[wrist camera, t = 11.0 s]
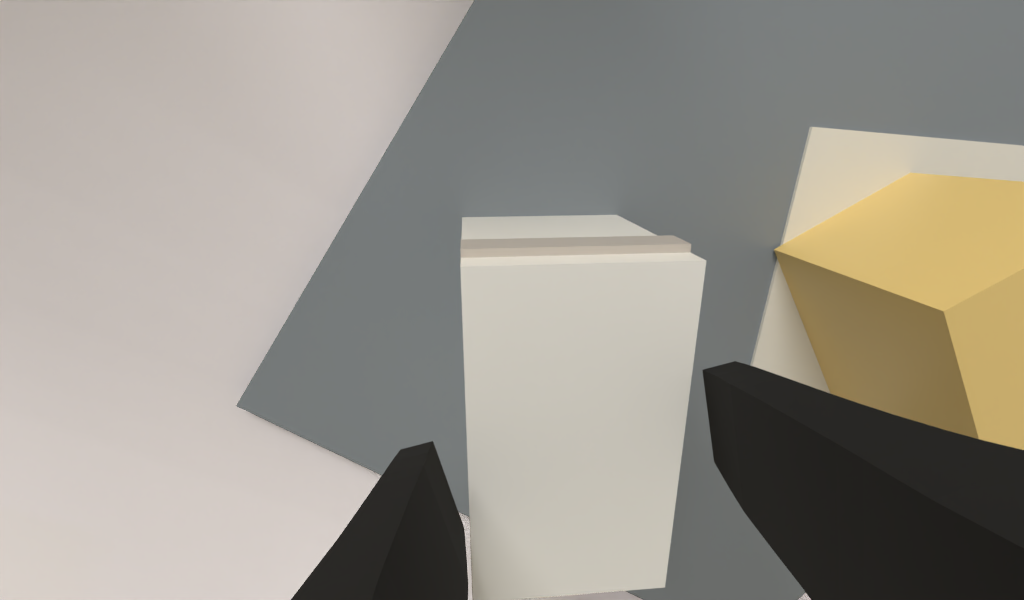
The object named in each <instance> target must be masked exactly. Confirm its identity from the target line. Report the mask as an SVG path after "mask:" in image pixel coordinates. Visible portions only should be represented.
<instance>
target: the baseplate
mask: <svg viewBox="0 0 1024 600" xmlns="http://www.w3.org/2000/svg"><path fill="white" fill-rule="evenodd" d="M909 173H922V174H934V175H947V176H959V177H972V178H984V179H997V180H1009V181H1022V182H1024V0H474V2H473V4H472V5H471V7H470V9H469V10H468V12H467V14H466V16H465V17H464V19H463V21H462V22H461V24H460V26H459V27H458V29H457V31H456V33H455V34H454V36H453V38H452V39H451V41H450V43H449V44H448V46H447V48H446V50H445V51H444V53H443V55H442V56H441V58H440V60H439V62H438V63H437V65H436V67H435V68H434V70H433V72H432V73H431V75H430V77H429V79H428V80H427V82H426V84H425V85H424V87H423V89H422V90H421V92H420V94H419V96H418V97H417V99H416V101H415V102H414V104H413V106H412V107H411V109H410V111H409V113H408V114H407V116H406V118H405V119H404V121H403V123H402V125H401V126H400V128H399V130H398V131H397V133H396V135H395V136H394V138H393V140H392V142H391V143H390V145H389V147H388V148H387V150H386V152H385V153H384V155H383V157H382V159H381V160H380V162H379V164H378V165H377V167H376V169H375V171H374V172H373V174H372V176H371V177H370V179H369V181H368V182H367V184H366V186H365V188H364V189H363V191H362V193H361V194H360V196H359V198H358V199H357V201H356V203H355V205H354V206H353V208H352V210H351V211H350V213H349V215H348V216H347V218H346V220H345V222H344V223H343V225H342V227H341V228H340V230H339V232H338V234H337V235H336V237H335V239H334V240H333V242H332V244H331V245H330V247H329V249H328V251H327V252H326V254H325V256H324V257H323V259H322V261H321V262H320V264H319V266H318V268H317V269H316V271H315V273H314V274H313V276H312V278H311V279H310V281H309V283H308V285H307V286H306V288H305V290H304V291H303V293H302V295H301V297H300V298H299V300H298V302H297V303H296V305H295V307H294V308H293V310H292V312H291V314H290V315H289V317H288V319H287V320H286V322H285V324H284V325H283V327H282V329H281V331H280V332H279V334H278V336H277V337H276V339H275V341H274V343H273V344H272V346H271V348H270V349H269V351H268V353H267V354H266V356H265V358H264V360H263V361H262V363H261V365H260V366H259V368H258V370H257V371H256V373H255V375H254V377H253V378H252V380H251V382H250V383H249V385H248V387H247V388H246V390H245V392H244V394H243V395H242V397H241V399H240V400H239V402H238V404H237V407H239V408H242V409H244V410H246V411H248V412H250V413H252V414H254V415H256V416H258V417H261V418H263V419H265V420H267V421H269V422H271V423H273V424H275V425H277V426H279V427H282V428H284V429H286V430H288V431H290V432H292V433H294V434H296V435H298V436H300V437H303V438H305V439H307V440H309V441H311V442H313V443H315V444H317V445H319V446H321V447H324V448H326V449H328V450H330V451H332V452H334V453H336V454H338V455H340V456H343V457H345V458H347V459H349V460H351V461H353V462H355V463H357V464H359V465H361V466H364V467H366V468H368V469H370V470H372V471H374V472H376V473H378V474H380V475H383V473H384V472H385V470H386V469H387V467H388V466H389V465H390V463H391V462H392V460H393V459H394V457H395V456H396V455H397V453H398V452H399V451H400V450H401V449H404V448H408V447H412V446H416V445H419V444H423V443H427V442H431V441H433V442H434V445H435V448H436V451H437V454H438V456H439V459H440V462H441V465H442V468H443V470H444V473H445V476H446V479H447V482H448V484H449V487H450V490H451V493H452V496H453V499H454V501H455V504H456V507H457V510H458V512H460V513H462V514H464V515H467V516H469V488H468V461H467V434H466V406H465V379H464V352H463V324H462V297H461V270H460V264H461V252H460V247H461V236H462V217H508V216H570V215H618V216H620V217H622V218H624V219H626V220H628V221H630V222H632V223H634V224H636V225H638V226H640V227H642V228H644V229H646V230H648V231H649V232H651V233H653V234H655V235H657V236H663V235H673V236H676V237H678V238H680V239H682V240H684V241H686V242H688V243H690V244H691V253H692V254H694V255H696V256H698V257H700V258H702V259H704V260H706V268H705V276H704V284H703V292H702V300H701V308H700V315H699V323H698V331H697V339H696V347H695V355H694V363H693V371H692V378H691V386H690V394H689V402H688V410H687V418H686V426H685V434H684V441H683V449H682V457H681V465H680V473H679V481H678V489H677V497H676V504H675V512H674V520H673V528H672V536H671V544H670V552H669V560H668V567H667V575H666V583H665V588H653V589H641V590H629V591H626V592H629V593H631V594H633V595H635V596H637V597H639V598H641V599H643V600H798V599H799V598H800V597H801V596H802V595H803V594H804V593H805V591H804V589H803V588H802V587H801V585H800V584H799V583H798V582H797V580H796V579H795V578H794V576H793V575H792V574H791V573H790V571H789V570H788V569H787V567H786V566H785V565H784V564H783V562H782V561H781V560H780V558H779V557H778V556H777V555H776V553H775V552H774V551H773V549H772V548H771V547H770V545H769V544H768V543H767V542H766V540H765V539H764V538H763V536H762V535H761V534H760V532H759V531H758V530H757V528H756V527H755V526H754V525H753V523H752V522H751V521H750V519H749V518H748V517H747V515H746V514H745V513H744V511H743V510H742V508H741V506H740V505H739V503H738V501H737V500H736V498H735V497H734V495H733V493H732V492H731V490H730V488H729V487H728V485H727V483H726V482H725V480H724V478H723V476H722V475H721V473H720V471H719V470H718V468H717V466H716V464H715V463H714V458H713V450H712V442H711V434H710V426H709V418H708V411H707V403H706V395H705V387H704V379H703V371H702V370H703V369H707V368H711V367H715V366H719V365H722V364H726V363H730V362H734V361H737V362H740V363H744V364H747V365H750V366H754V367H757V368H760V369H763V370H765V371H768V372H771V373H774V374H777V375H780V376H782V377H785V378H788V379H791V380H794V381H796V382H799V383H802V384H805V385H808V386H810V387H813V388H816V389H819V390H822V391H825V392H827V393H830V391H829V388H828V386H827V383H826V381H825V378H824V376H823V373H822V371H821V368H820V365H819V363H818V360H817V358H816V355H815V353H814V350H813V348H812V345H811V343H810V340H809V338H808V335H807V332H806V330H805V327H804V325H803V322H802V320H801V317H800V315H799V312H798V310H797V307H796V305H795V302H794V300H793V297H792V294H791V292H790V289H789V287H788V284H787V282H786V279H785V277H784V274H783V272H782V269H781V267H780V264H779V262H778V259H777V256H776V254H775V251H774V249H776V248H777V247H779V246H781V245H783V244H784V243H786V242H788V241H790V240H792V239H793V238H795V237H797V236H799V235H800V234H802V233H804V232H806V231H808V230H809V229H811V228H813V227H815V226H816V225H818V224H820V223H822V222H824V221H825V220H827V219H829V218H831V217H832V216H834V215H836V214H838V213H840V212H841V211H843V210H845V209H847V208H848V207H850V206H852V205H854V204H856V203H857V202H859V201H861V200H863V199H864V198H866V197H868V196H870V195H872V194H873V193H875V192H877V191H879V190H880V189H882V188H884V187H886V186H888V185H889V184H891V183H893V182H895V181H896V180H898V179H900V178H902V177H904V176H905V175H907V174H909ZM830 394H831V393H830ZM469 517H470V516H469Z"/></svg>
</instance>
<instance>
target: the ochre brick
mask: <svg viewBox="0 0 1024 600" xmlns="http://www.w3.org/2000/svg"><path fill="white" fill-rule="evenodd" d="M774 251H775V254H776V256H777V259H778V262H779V264H780V267H781V269H782V272H783V274H784V277H785V279H786V282H787V284H788V287H789V289H790V292H791V294H792V297H793V300H794V302H795V305H796V307H797V310H798V312H799V315H800V317H801V320H802V322H803V325H804V327H805V330H806V332H807V335H808V338H809V340H810V343H811V345H812V348H813V350H814V353H815V355H816V358H817V360H818V363H819V365H820V368H821V371H822V373H823V376H824V378H825V381H826V383H827V386H828V388H829V391H830V393H831V394H833V395H836V396H839V397H842V398H845V399H848V400H851V401H854V402H857V403H860V404H863V405H866V406H869V407H872V408H875V409H878V410H881V411H884V412H887V413H890V414H893V415H897V416H900V417H903V418H907V419H910V420H914V421H917V422H920V423H924V424H927V425H930V426H934V427H937V428H940V429H944V430H947V431H951V432H954V433H958V434H962V435H965V436H969V437H973V438H977V439H980V440H984V441H988V442H992V443H996V444H1000V445H1005V446H1009V447H1013V448H1017V449H1021V450H1024V182H1022V181H1009V180H997V179H984V178H972V177H959V176H947V175H934V174H922V173H909V174H907V175H905V176H904V177H902V178H900V179H898V180H896V181H895V182H893V183H891V184H889V185H888V186H886V187H884V188H882V189H880V190H879V191H877V192H875V193H873V194H872V195H870V196H868V197H866V198H864V199H863V200H861V201H859V202H857V203H856V204H854V205H852V206H850V207H848V208H847V209H845V210H843V211H841V212H840V213H838V214H836V215H834V216H832V217H831V218H829V219H827V220H825V221H824V222H822V223H820V224H818V225H816V226H815V227H813V228H811V229H809V230H808V231H806V232H804V233H802V234H800V235H799V236H797V237H795V238H793V239H792V240H790V241H788V242H786V243H784V244H783V245H781V246H779V247H777V248H776V249H774Z"/></svg>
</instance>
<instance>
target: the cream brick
mask: <svg viewBox="0 0 1024 600" xmlns="http://www.w3.org/2000/svg"><path fill="white" fill-rule="evenodd" d="M460 252H461V264H460V270H461V297H462V324H463V352H464V379H465V406H466V434H467V461H468V488H469V516H470V543H471V571H472V598H473V600H521V599H533V598H545V597H557V596H569V595H581V594H593V593H605V592H617V591H629V590H641V589H653V588H665V583H666V575H667V567H668V560H669V552H670V544H671V536H672V528H673V520H674V512H675V504H676V497H677V489H678V481H679V473H680V465H681V457H682V449H683V441H684V434H685V426H686V418H687V410H688V402H689V394H690V386H691V378H692V371H693V363H694V355H695V347H696V339H697V331H698V323H699V315H700V308H701V300H702V292H703V284H704V276H705V268H706V260H704V259H702V258H700V257H698V256H696V255H694V254H692V253H691V244H690V243H688V242H686V241H684V240H682V239H680V238H678V237H676V236H673V235H663V236H657V235H655V234H653V233H651V232H649V231H648V230H646V229H644V228H642V227H640V226H638V225H636V224H634V223H632V222H630V221H628V220H626V219H624V218H622V217H620V216H618V215H570V216H508V217H462V236H461V247H460Z"/></svg>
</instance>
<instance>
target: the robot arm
mask: <svg viewBox="0 0 1024 600" xmlns="http://www.w3.org/2000/svg"><path fill="white" fill-rule="evenodd" d="M702 371H703V379H704V387H705V395H706V403H707V411H708V418H709V426H710V434H711V442H712V450H713V458H714V463H715V464H716V466H717V468H718V470H719V471H720V473H721V475H722V476H723V478H724V480H725V482H726V483H727V485H728V487H729V488H730V490H731V492H732V493H733V495H734V497H735V498H736V500H737V501H738V503H739V505H740V506H741V508H742V510H743V511H744V513H745V514H746V515H747V517H748V518H749V519H750V521H751V522H752V523H753V525H754V526H755V527H756V528H757V530H758V531H759V532H760V534H761V535H762V536H763V538H764V539H765V540H766V542H767V543H768V544H769V545H770V547H771V548H772V549H773V551H774V552H775V553H776V555H777V556H778V557H779V558H780V560H781V561H782V562H783V564H784V565H785V566H786V567H787V569H788V570H789V571H790V573H791V574H792V575H793V576H794V578H795V579H796V580H797V582H798V583H799V584H800V585H801V587H802V588H803V589H804V591H805V592H806V593H807V594H808V596H809V597H810V598H811V600H1024V450H1021V449H1017V448H1013V447H1009V446H1005V445H1000V444H996V443H992V442H988V441H984V440H980V439H977V438H973V437H969V436H965V435H962V434H958V433H954V432H951V431H947V430H944V429H940V428H937V427H934V426H930V425H927V424H924V423H920V422H917V421H914V420H910V419H907V418H903V417H900V416H897V415H893V414H890V413H887V412H884V411H881V410H878V409H875V408H872V407H869V406H866V405H863V404H860V403H857V402H854V401H851V400H848V399H845V398H842V397H839V396H836V395H833V394H830V393H827V392H825V391H822V390H819V389H816V388H813V387H810V386H808V385H805V384H802V383H799V382H796V381H794V380H791V379H788V378H785V377H782V376H780V375H777V374H774V373H771V372H768V371H765V370H763V369H760V368H757V367H754V366H750V365H747V364H744V363H740V362H737V361H734V362H730V363H726V364H722V365H719V366H715V367H711V368H707V369H703V370H702ZM291 600H468V575H467V559H466V547H465V534H464V527H463V524H462V521H461V518H460V515H459V513H458V510H457V507H456V504H455V501H454V499H453V496H452V493H451V490H450V487H449V484H448V482H447V479H446V476H445V473H444V470H443V468H442V465H441V462H440V459H439V456H438V454H437V451H436V448H435V445H434V442H433V441H431V442H427V443H423V444H419V445H416V446H412V447H408V448H404V449H401V450H400V451H399V452H398V453H397V455H396V456H395V457H394V459H393V460H392V462H391V463H390V465H389V466H388V467H387V469H386V470H385V472H384V473H383V475H382V476H381V478H380V479H379V481H378V482H377V484H376V485H375V487H374V488H373V490H372V491H371V492H370V494H369V495H368V497H367V498H366V500H365V501H364V503H363V504H362V505H361V507H360V508H359V510H358V511H357V513H356V514H355V515H354V517H353V518H352V520H351V521H350V522H349V524H348V525H347V527H346V528H345V530H344V531H343V532H342V534H341V535H340V537H339V538H338V539H337V541H336V542H335V543H334V545H333V546H332V547H331V549H330V550H329V551H328V552H327V554H326V555H325V556H324V558H323V559H322V560H321V562H320V563H319V564H318V565H317V567H316V568H315V569H314V571H313V572H312V573H311V574H310V576H309V577H308V578H307V580H306V581H305V582H304V584H303V585H302V586H301V587H300V589H299V590H298V591H297V593H296V594H295V595H294V597H293V598H292V599H291Z"/></svg>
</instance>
